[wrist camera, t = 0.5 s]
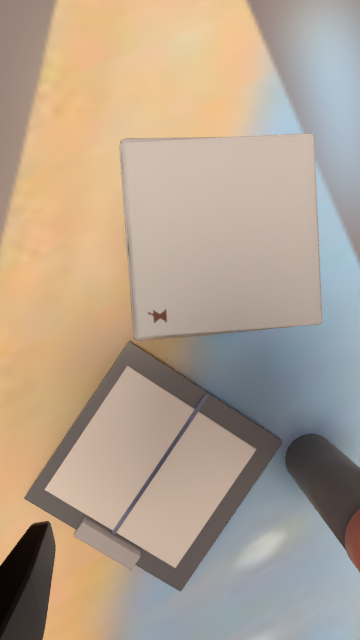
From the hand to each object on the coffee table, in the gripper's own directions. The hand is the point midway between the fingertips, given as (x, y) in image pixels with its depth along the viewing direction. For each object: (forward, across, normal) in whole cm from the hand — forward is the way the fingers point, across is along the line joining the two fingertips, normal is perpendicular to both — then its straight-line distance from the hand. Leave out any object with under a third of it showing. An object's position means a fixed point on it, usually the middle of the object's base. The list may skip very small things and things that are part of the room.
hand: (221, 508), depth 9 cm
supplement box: (+18, -2, -3) cm, 18 cm away
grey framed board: (+13, +2, +11) cm, 18 cm away
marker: (+12, -11, +12) cm, 20 cm away
